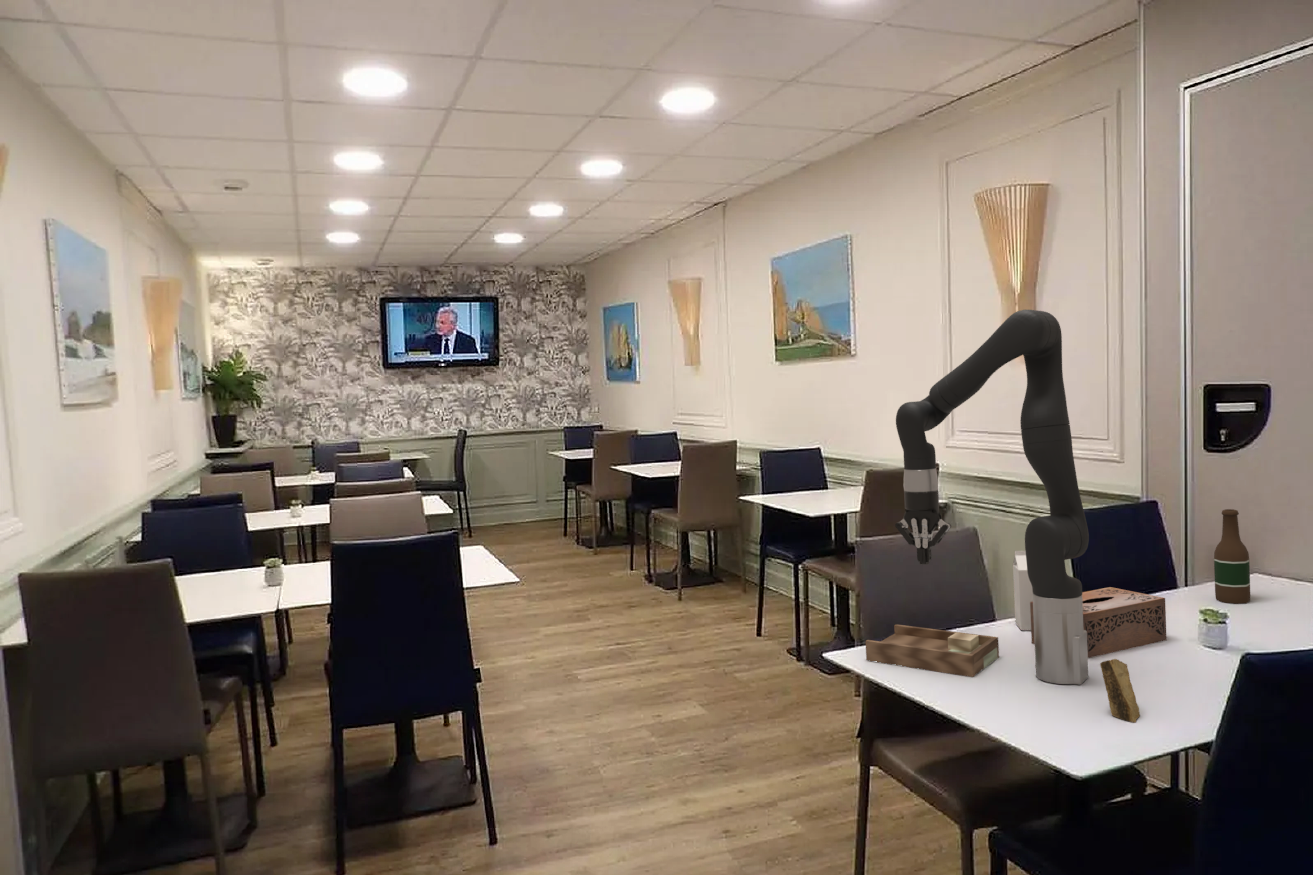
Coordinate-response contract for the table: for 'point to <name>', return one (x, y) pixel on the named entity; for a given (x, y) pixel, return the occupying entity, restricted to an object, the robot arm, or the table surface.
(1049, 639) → the robot arm
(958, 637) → the maple block
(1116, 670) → the rock
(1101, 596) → the tissue box cover
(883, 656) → the box
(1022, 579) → the milk carton
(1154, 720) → the table surface
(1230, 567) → the beer bottle
